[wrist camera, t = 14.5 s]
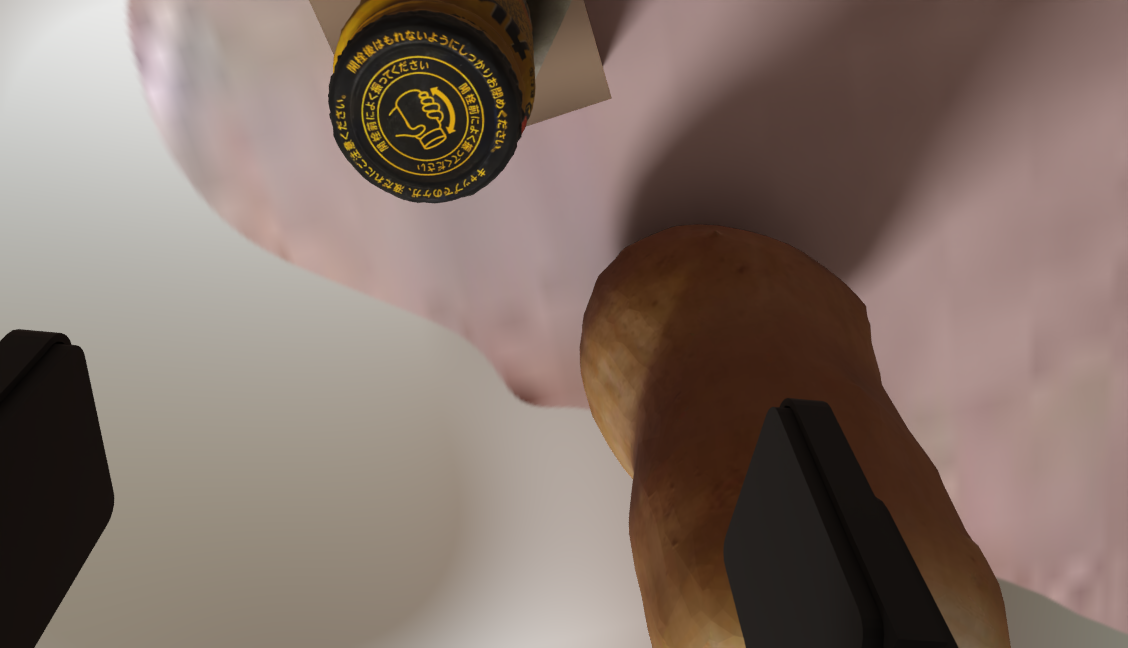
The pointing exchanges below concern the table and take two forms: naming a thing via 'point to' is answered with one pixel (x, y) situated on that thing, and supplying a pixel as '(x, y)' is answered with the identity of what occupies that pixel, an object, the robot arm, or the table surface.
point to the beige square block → (562, 77)
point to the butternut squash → (750, 420)
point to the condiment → (437, 90)
